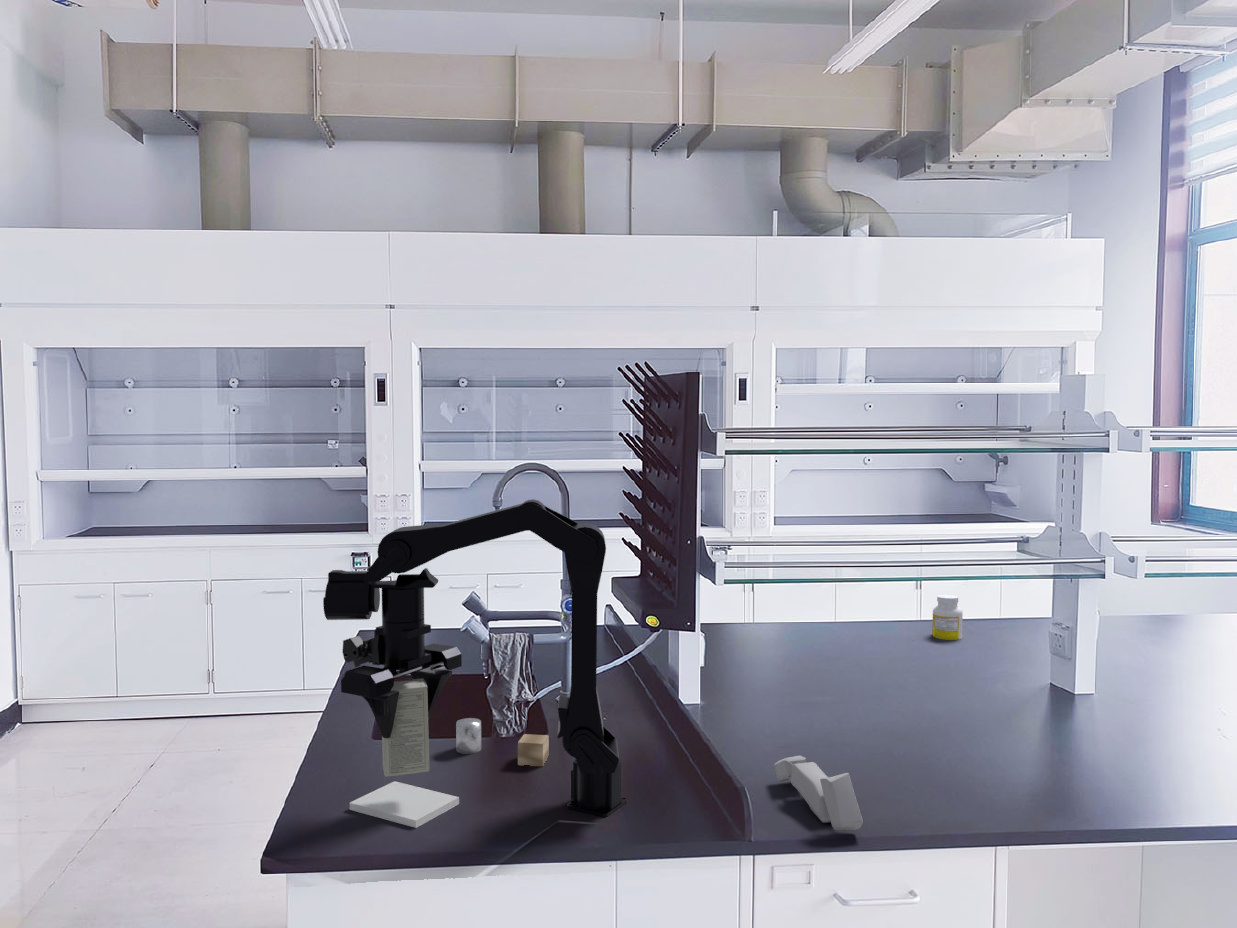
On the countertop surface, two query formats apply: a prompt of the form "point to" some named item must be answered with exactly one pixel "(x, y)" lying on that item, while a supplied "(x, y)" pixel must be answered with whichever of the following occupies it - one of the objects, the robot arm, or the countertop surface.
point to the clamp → (822, 792)
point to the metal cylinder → (468, 735)
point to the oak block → (533, 750)
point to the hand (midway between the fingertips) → (405, 729)
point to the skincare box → (408, 731)
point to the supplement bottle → (947, 618)
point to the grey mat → (404, 804)
